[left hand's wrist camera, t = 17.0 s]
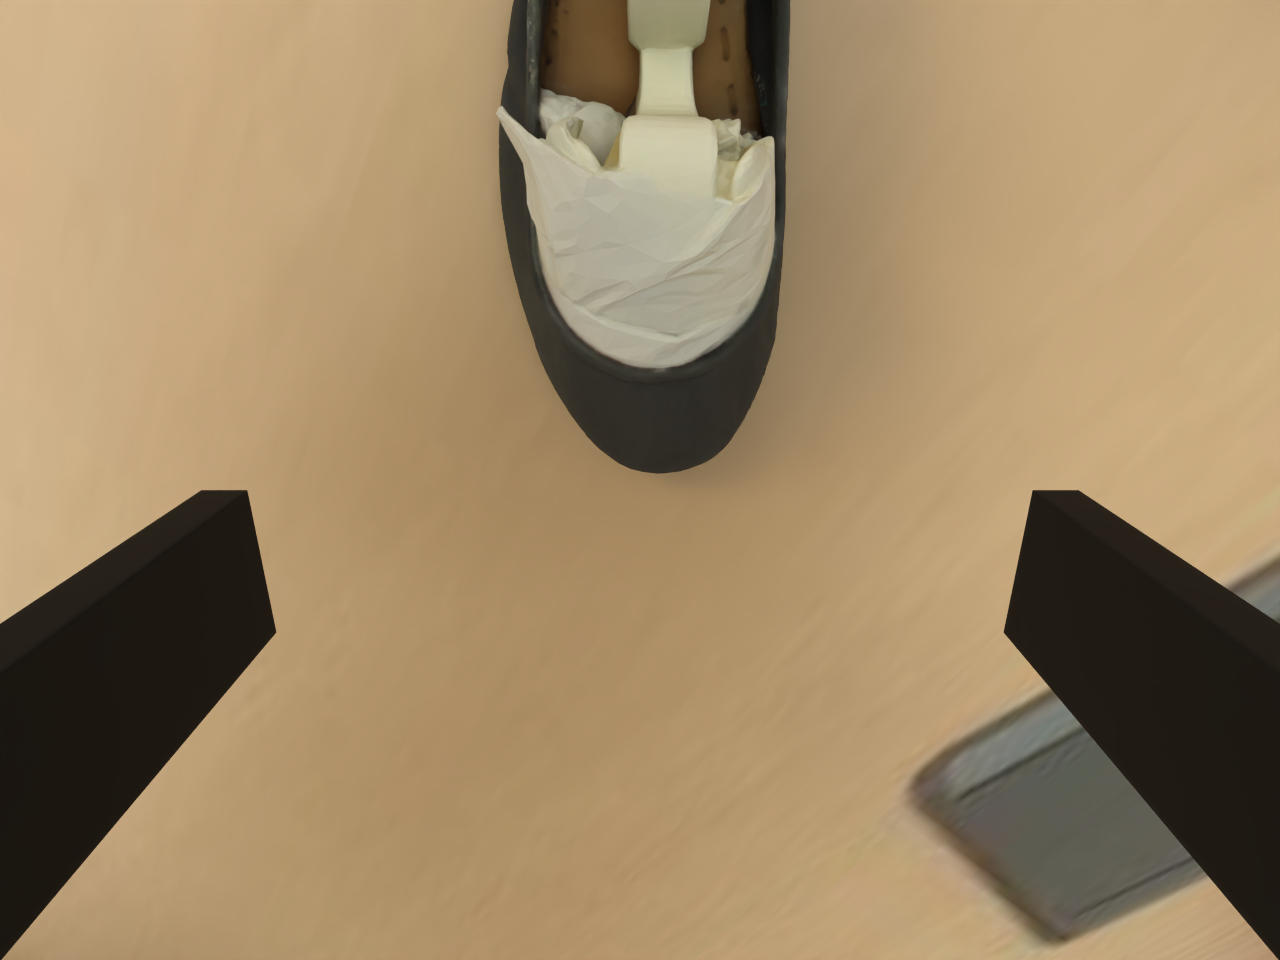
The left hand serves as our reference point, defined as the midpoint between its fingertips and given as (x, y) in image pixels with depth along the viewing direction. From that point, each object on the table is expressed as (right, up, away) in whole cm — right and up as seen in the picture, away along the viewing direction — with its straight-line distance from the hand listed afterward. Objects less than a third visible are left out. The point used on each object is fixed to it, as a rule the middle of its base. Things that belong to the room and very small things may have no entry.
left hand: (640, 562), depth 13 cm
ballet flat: (0, +13, +9) cm, 16 cm away
